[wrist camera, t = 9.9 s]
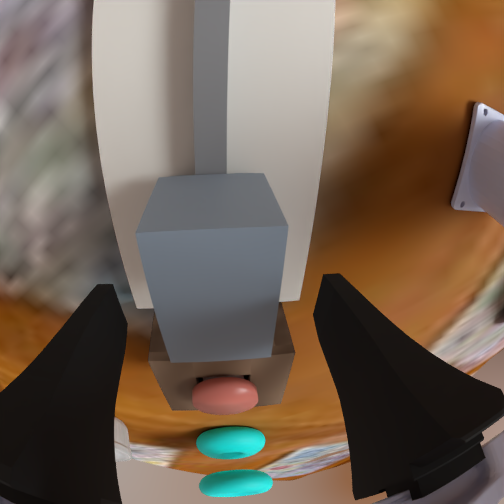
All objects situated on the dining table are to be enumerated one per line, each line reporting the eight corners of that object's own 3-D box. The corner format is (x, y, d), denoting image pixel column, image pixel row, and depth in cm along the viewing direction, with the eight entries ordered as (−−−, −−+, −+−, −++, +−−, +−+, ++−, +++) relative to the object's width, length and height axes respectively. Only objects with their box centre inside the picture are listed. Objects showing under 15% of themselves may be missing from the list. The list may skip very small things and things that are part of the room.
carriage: (258, 162, 12) (288, 226, 7) (253, 271, 15) (270, 357, 11) (164, 165, 11) (135, 232, 7) (177, 275, 15) (170, 362, 10)
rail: (323, -72, 6) (346, -94, 4) (293, 284, 19) (305, 318, 16) (116, -70, 5) (97, -92, 2) (140, 291, 18) (133, 327, 15)
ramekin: (124, 409, 28) (121, 447, 24) (139, 435, 35) (138, 465, 30) (48, 395, 26) (40, 429, 22) (75, 424, 33) (71, 452, 28)
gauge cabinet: (277, 290, 19) (295, 352, 15) (269, 351, 23) (280, 403, 19) (153, 297, 18) (144, 360, 14) (171, 356, 22) (169, 410, 18)
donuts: (289, 488, 28) (239, 497, 32) (277, 428, 36) (233, 445, 40) (233, 490, 23) (185, 496, 27) (225, 418, 31) (182, 436, 35)
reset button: (249, 322, 18) (260, 386, 15) (248, 355, 21) (256, 412, 17) (188, 326, 18) (187, 390, 14) (195, 358, 20) (197, 415, 16)
